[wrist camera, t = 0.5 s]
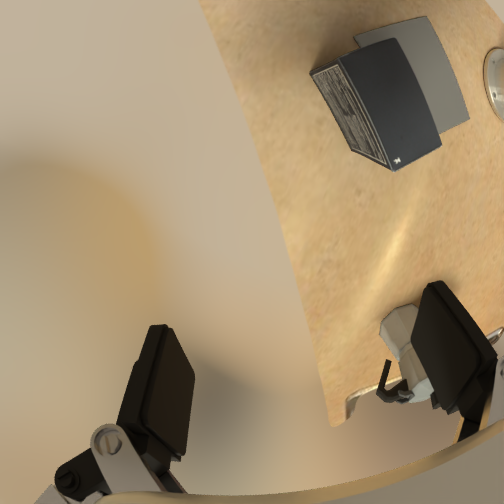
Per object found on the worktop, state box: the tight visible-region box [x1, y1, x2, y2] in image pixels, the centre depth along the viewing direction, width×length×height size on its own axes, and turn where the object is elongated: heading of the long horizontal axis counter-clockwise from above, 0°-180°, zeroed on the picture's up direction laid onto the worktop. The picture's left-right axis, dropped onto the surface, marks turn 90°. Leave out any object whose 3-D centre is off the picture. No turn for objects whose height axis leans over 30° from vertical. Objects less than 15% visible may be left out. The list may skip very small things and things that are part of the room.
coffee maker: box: [376, 304, 441, 409], centre depth 36 cm, size 15×9×18 cm, turn 102°
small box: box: [309, 37, 442, 172], centre depth 22 cm, size 11×6×10 cm, turn 32°
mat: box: [354, 16, 470, 134], centre depth 24 cm, size 12×15×1 cm
